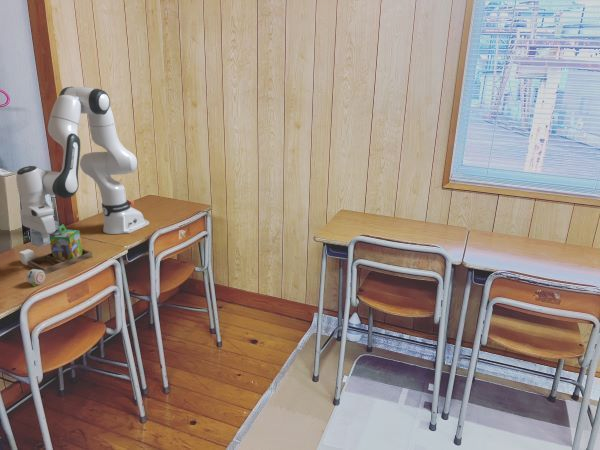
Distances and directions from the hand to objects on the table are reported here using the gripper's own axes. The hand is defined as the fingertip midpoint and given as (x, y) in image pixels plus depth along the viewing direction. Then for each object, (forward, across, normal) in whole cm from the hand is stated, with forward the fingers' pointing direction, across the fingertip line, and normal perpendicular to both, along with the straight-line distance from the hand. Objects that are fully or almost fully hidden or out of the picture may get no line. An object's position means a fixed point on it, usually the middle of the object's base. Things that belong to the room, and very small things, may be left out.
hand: (40, 239), depth 202 cm
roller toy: (+12, +12, -10) cm, 20 cm away
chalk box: (+12, 0, +10) cm, 16 cm away
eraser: (+12, -11, -2) cm, 16 cm away
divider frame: (+12, 0, +7) cm, 14 cm away
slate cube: (+2, 0, 0) cm, 2 cm away
